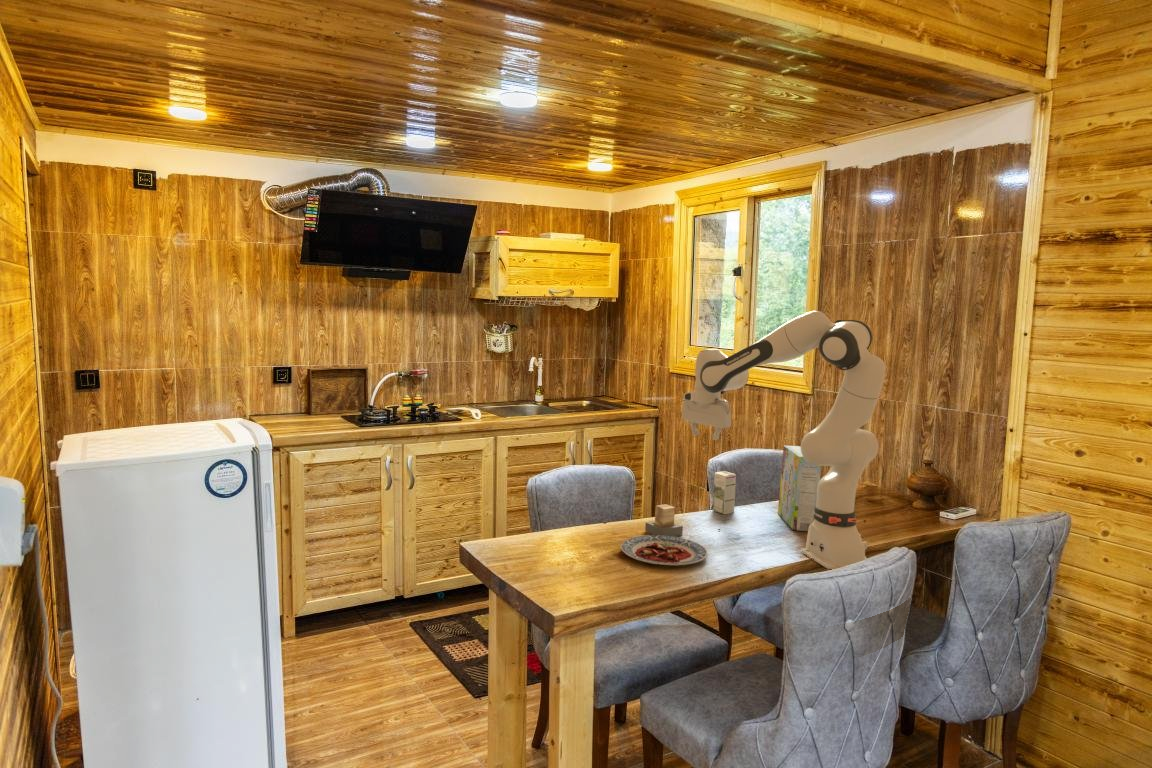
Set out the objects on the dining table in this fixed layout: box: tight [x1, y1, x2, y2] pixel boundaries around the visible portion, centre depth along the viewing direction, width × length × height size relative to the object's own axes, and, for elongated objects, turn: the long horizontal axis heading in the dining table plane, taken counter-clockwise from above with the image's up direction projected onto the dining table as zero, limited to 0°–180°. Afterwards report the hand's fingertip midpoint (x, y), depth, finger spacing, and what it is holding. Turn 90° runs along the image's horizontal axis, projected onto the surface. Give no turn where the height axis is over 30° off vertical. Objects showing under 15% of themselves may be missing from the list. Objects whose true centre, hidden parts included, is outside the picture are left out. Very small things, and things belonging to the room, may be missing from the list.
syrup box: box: [712, 470, 737, 515], centre depth 270 cm, size 6×6×14 cm
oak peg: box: [654, 503, 676, 528], centre depth 243 cm, size 4×4×9 cm
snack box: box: [777, 444, 823, 532], centre depth 259 cm, size 22×9×26 cm, turn 179°
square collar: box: [644, 520, 683, 537], centre depth 243 cm, size 9×9×3 cm
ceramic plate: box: [620, 534, 709, 566], centre depth 222 cm, size 26×26×3 cm
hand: (705, 437), depth 250 cm, fingers open, 8 cm apart
